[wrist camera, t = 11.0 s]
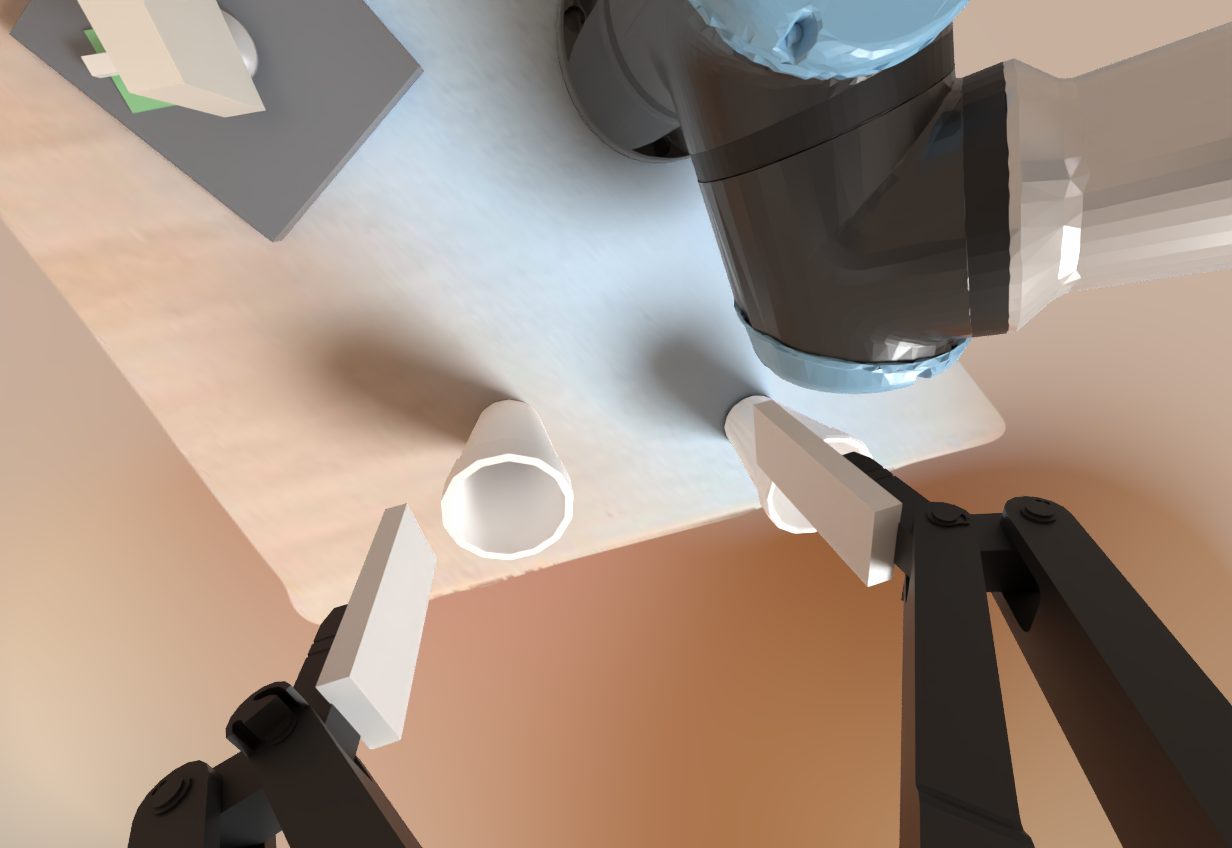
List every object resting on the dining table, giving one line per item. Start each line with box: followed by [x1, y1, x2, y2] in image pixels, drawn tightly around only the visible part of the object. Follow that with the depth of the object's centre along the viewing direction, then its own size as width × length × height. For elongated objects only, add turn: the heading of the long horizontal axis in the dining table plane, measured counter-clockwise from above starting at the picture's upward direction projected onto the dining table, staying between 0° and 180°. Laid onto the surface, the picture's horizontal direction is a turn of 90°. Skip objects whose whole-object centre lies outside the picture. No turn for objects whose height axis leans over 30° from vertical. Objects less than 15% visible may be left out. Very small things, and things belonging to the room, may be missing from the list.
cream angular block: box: [77, 0, 266, 117], centre depth 23 cm, size 7×9×10 cm
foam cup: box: [441, 399, 574, 560], centre depth 39 cm, size 10×9×13 cm
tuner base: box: [10, 0, 424, 242], centre depth 29 cm, size 16×15×2 cm
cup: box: [725, 396, 873, 533], centre depth 44 cm, size 10×10×13 cm
